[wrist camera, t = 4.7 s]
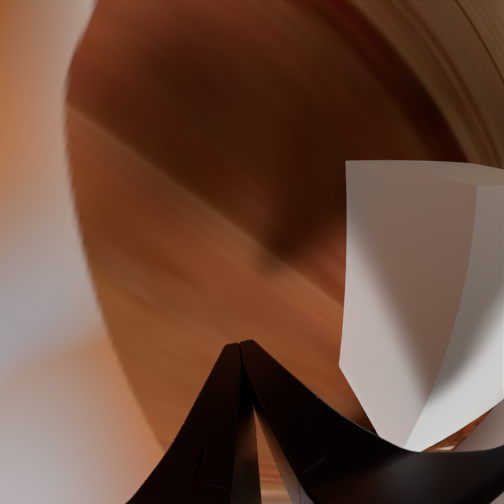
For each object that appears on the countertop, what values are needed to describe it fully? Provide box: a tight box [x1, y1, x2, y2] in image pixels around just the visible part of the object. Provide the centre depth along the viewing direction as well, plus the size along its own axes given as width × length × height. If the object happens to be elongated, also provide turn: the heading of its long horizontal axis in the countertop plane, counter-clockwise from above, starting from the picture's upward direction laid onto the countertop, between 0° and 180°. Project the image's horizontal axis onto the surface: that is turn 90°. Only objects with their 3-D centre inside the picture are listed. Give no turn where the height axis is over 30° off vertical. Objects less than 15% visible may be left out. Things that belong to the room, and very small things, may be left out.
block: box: [339, 160, 504, 452], centre depth 9 cm, size 9×7×6 cm
